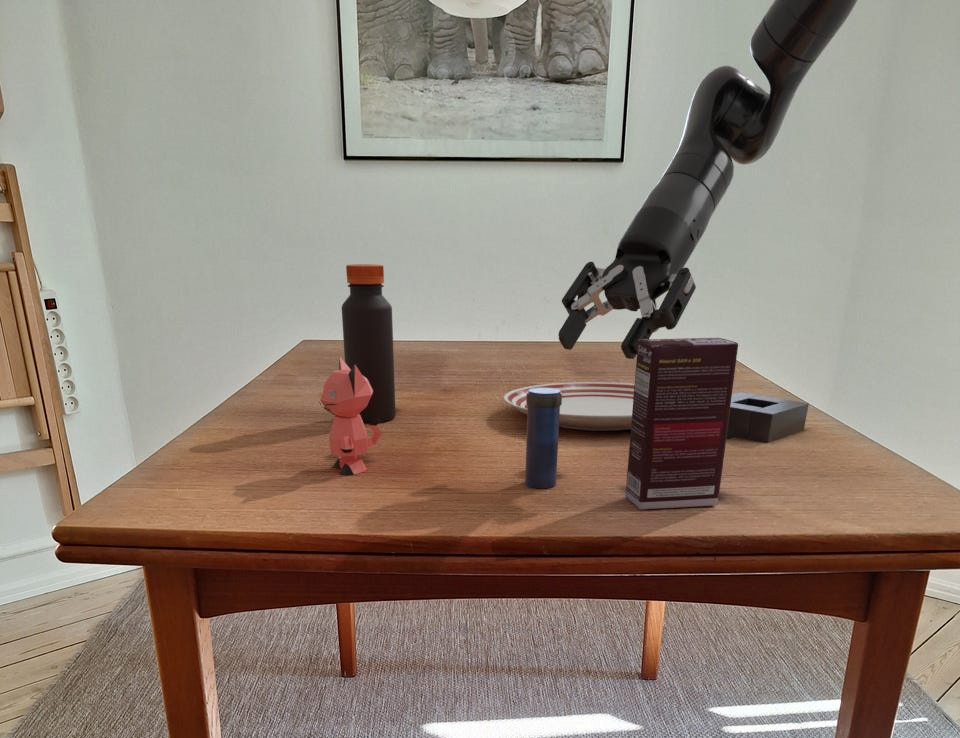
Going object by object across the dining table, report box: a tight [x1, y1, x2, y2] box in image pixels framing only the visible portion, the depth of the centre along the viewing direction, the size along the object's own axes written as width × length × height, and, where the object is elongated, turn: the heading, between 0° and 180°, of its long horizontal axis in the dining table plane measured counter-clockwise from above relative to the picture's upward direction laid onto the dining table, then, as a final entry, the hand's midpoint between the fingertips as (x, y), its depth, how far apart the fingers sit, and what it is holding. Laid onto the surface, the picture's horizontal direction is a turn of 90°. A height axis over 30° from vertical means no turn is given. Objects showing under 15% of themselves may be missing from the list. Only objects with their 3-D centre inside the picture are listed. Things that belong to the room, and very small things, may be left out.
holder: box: [726, 391, 810, 444], centre depth 111 cm, size 10×10×4 cm
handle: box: [524, 388, 562, 489], centre depth 90 cm, size 4×4×10 cm
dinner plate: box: [503, 381, 635, 432], centre depth 121 cm, size 27×27×3 cm
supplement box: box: [625, 337, 739, 511], centre depth 83 cm, size 9×5×16 cm, turn 100°
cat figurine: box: [318, 355, 383, 476], centre depth 94 cm, size 7×7×12 cm
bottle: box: [341, 263, 396, 424], centre depth 115 cm, size 7×7×20 cm
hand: (594, 349), depth 91 cm, fingers open, 8 cm apart
